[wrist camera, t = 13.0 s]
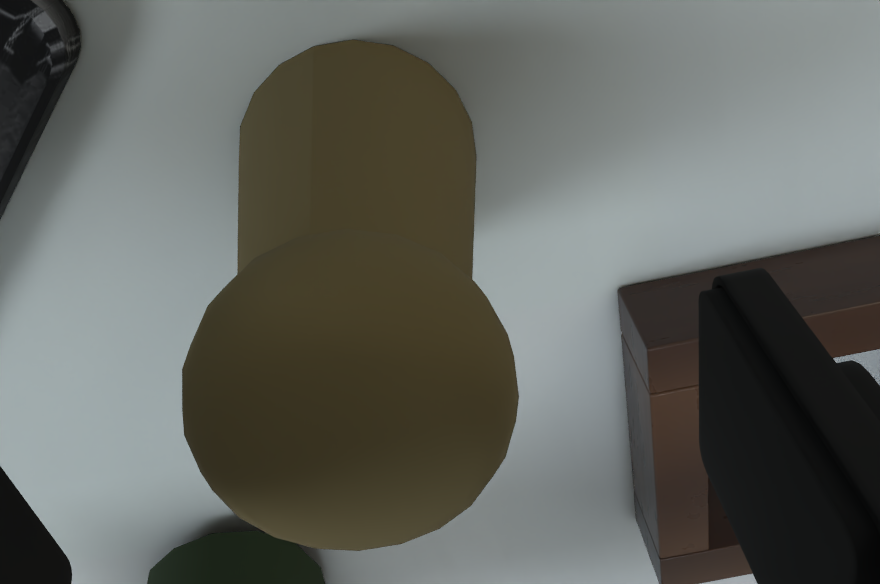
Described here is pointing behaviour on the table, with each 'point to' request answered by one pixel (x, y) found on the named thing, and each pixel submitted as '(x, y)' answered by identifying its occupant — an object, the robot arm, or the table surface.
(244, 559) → the character mug
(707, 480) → the holder
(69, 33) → the phone
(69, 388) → the table surface
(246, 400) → the olive pawn
